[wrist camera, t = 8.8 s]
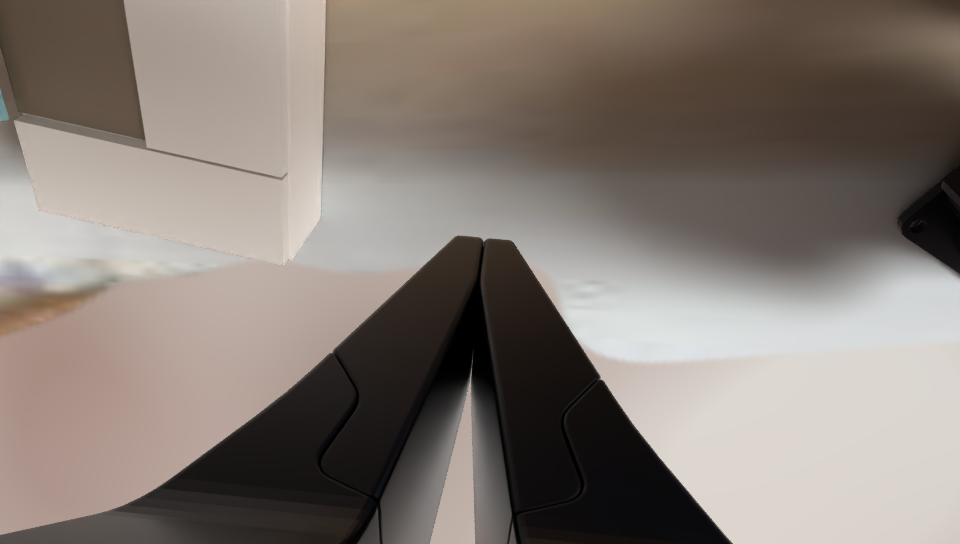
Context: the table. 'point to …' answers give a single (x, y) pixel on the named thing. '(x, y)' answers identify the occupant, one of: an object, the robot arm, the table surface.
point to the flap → (3, 109)
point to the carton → (174, 116)
